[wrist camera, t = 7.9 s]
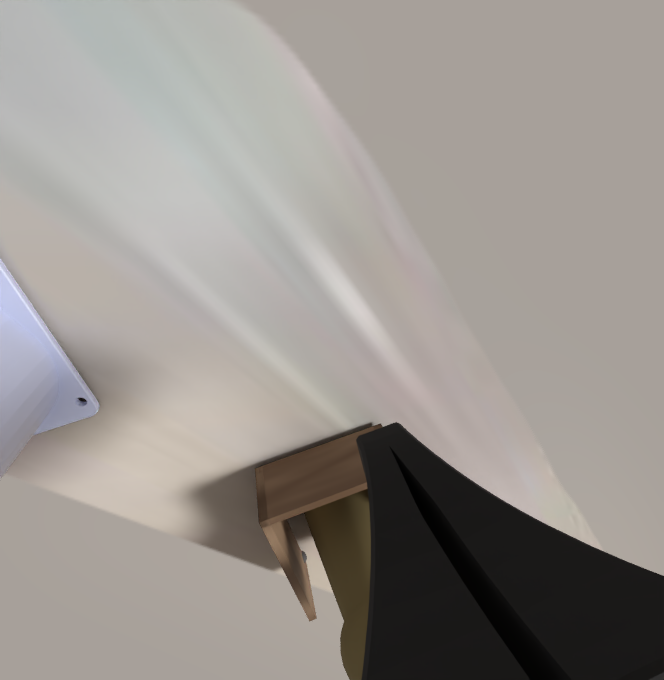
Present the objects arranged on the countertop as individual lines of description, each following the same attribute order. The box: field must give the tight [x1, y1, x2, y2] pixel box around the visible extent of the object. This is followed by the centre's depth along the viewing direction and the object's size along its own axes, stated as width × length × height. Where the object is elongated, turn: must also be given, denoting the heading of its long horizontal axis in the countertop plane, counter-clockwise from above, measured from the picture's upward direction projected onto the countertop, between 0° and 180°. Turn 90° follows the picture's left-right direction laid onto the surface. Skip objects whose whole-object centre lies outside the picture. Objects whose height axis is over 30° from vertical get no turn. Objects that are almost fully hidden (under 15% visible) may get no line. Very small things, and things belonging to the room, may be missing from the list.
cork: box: [304, 489, 371, 680], centre depth 22 cm, size 6×6×11 cm
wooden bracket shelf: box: [255, 424, 382, 621], centre depth 25 cm, size 11×9×4 cm
